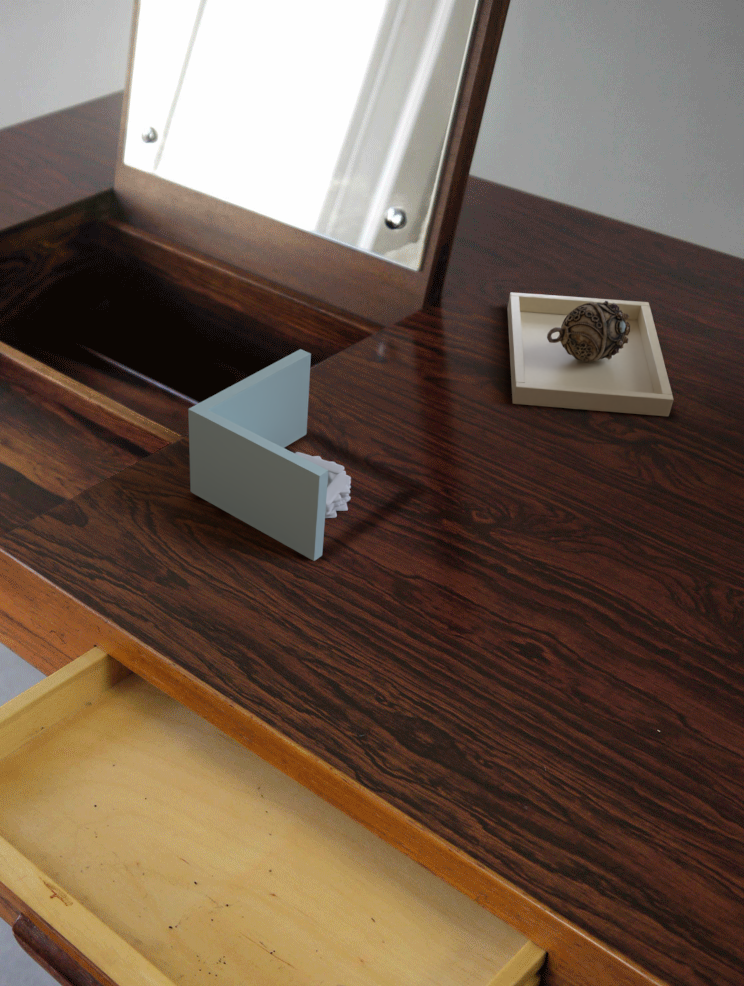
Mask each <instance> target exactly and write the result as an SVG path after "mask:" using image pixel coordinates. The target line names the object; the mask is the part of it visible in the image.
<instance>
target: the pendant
mask: <svg viewBox="0 0 744 986" xmlns="http://www.w3.org/2000/svg"><path fill="white" fill-rule="evenodd" d="M628 318H629V315H628V314H625V313H624V314H623V311H622V310H619V306H618V305H616V304H615V303H613V304H611V305H609V304H608V301H605V302H604V303H603V304H601V303H597V304H596V303H594V302H589V303H586V304H583V305H580V306H578V307H577V308H575V309H574V310H572V311H571V312H570V313H569V314H568V315H567V316H566V318H565V319H564V321H563V323H562V326H561V328H560V327H555V328H553V329H551V330H550V331H549V332H548V334H547V339H548V341H549V342H550V343H556V342H559V341H560V342H561V344H562V346H563V348H565V350H566V351H567V353H568V354H569V355H572V356H573V357H574V358H575V359H577V360H580V361H582V362H589V361H590V362H592V361H596V360H599V359H603V358H607V359H608V360H609V359H611V358H612V355H615V354H617V353H619V349H622V348H623V345H624V344H625V343H628V338H627V337H626V336H628V334H629V332H630V324H629V323H628V322H626V320H627V319H628ZM555 332H559V333H560V334H559V336H558V338H556V339H552V337H551V335H552V334H553V333H555Z"/></svg>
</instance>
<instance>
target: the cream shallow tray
mask: <svg viewBox="0 0 744 986" xmlns="http://www.w3.org/2000/svg"><path fill="white" fill-rule="evenodd" d="M605 301H608V304H609V305H611V304H613V303H615V304H616V305H618V306H619V310H622V311H623V314H624V313H625V314H628V315H629V318H628V319H627V320H626V322H628V323H629V324H630V332H629V334H628V336H626V337H627V338H628V343H625V344H624V345H623V348H622V349H619V353H617V354H615V355H612V358H611V359H609V360H608V359H607V358H603V359H599V360H596V361H592V362H590V361H589V362H582V361H580V360H577V359H575V358H574V357H573V356H572V355H569V354H568V353H567V351H566V350H565V348H563V346H562V344H561V342H560V341H559V342H556V343H550V342H549V341H548V339H547V334H548V332H549V331H550V330H551V329H553V328H555V327H560V328H561V326H562V323H563V321H564V319H565V318H566V316H567V315H568V314H569V313H570V312H571V311H572V310H574V309H575V308H577V307H578V306H580V305H583V304H586V303H589V302H594V303H596V304H597V303H601V304H603V303H604V302H605ZM507 325H508V343H509V362H510V376H511V377H510V379H511V380H510V381H511V394H512V395H511V399H512V401H511V402H512V404H515V405H526V406H527V405H528V406H537V407H550V408H560V409H562V408H564V409H573V410H587V411H598V412H599V411H600V412H610V413H623V414H636V415H647V416H659V417H669V416H670V413H671V410H672V406H673V403H674V396H673V392H672V387H671V383H670V380H669V376H668V373H667V369H666V365H665V360H664V356H663V353H662V349H661V345H660V341H659V337H658V333H657V329H656V326H655V322H654V316H653V314H652V309H651V306H650V302H648V301H639V300H638V301H637V300H622V299H610V298H596V297H583V296H569V295H554V294H553V295H552V294H541V293H527V292H514V291H513V292H512V291H511V292H510V293H509V298H508V302H507ZM559 334H560V333H559V332H555V333H553V334H552V335H551V337H552V339H556V338H558V336H559Z"/></svg>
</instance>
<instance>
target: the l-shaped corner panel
mask: <svg viewBox="0 0 744 986" xmlns="http://www.w3.org/2000/svg"><path fill="white" fill-rule="evenodd" d="M311 359H312V353H311V352H309V351H305V350H304V349H301V348H299V349H298V350H296V351H294V352H291V354H289V355H286V356H284V357H283V358H281V359H278V360H277V361H275V362H273V363H272V364H270V365H268V366H266V367H264V368H262V369H260V370H259V371H256V372H255V373H253V374H251V375H249V376H247V377H245V378H243V379H242V380H240V381H238V382H235V383H234V384H232V385H231V386H228V387H226V388H225V389H223V390H221V391H219V392H217V393H216V394H214V395H212V396H209V397H208V398H206V399H203V400H202V401H200V402H199V403H197V404H194V405H193V406H190V407H189V408H188V409H187V411H188V413H187V414H188V441H189V443H188V448H189V450H188V451H189V452H188V453H189V483H190V486H189V488H190V493H191V494H193V495H195V496H197V497H199V498H201V499H202V500H204V501H206V502H208V503H209V504H212V505H213V506H215V507H217V508H218V509H220V510H222V511H224V512H225V513H227V514H229V515H231V516H232V517H234V518H236V519H237V520H240V521H242V522H243V523H245V524H247V525H249V526H251V527H252V528H254V529H256V530H258V531H260V532H261V533H263V534H264V535H267V536H268V537H270V538H271V539H273V540H275V541H277V542H279V543H281V544H282V545H284V546H287V547H288V548H289V549H291V550H293V551H294V552H297V553H298V554H300V555H302V556H304V557H306V558H308V559H310V560H311V561H313V562H315V561H317V560H318V559H319V558H321V557H322V556H323V551H324V550H323V549H324V537H325V536H324V535H325V524H326V519H335V518H337V516H338V514H337V512H342V511H343V512H345V511H348V510H349V507H348V502H350V501H351V498H352V497H351V496H350V494H351V490H350V489H351V488H352V485H351V484H352V477H351V476H350V475H348V474H347V471H346V470H345V466H344V465H341V464H339V463H336V462H335V461H329V460H326V459H322V457H321V456H320V455H313V456H312V455H310V454H306V453H304V452H300V451H295V452H293V451H290V450H288V449H287V448H286V447H288V446H289V445H290V446H291V444H293V443H294V442H296V441H298V440H299V439H301V438H303V437H305V436H306V435H307V433H308V417H309V415H308V413H309V398H310V397H309V396H310V380H311V379H310V378H311Z"/></svg>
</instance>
